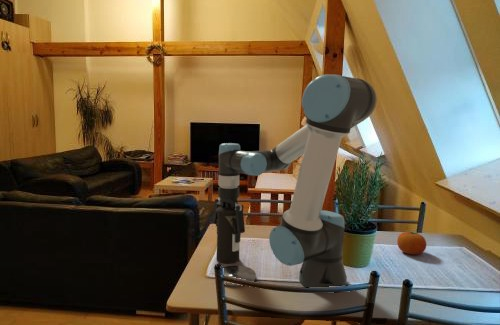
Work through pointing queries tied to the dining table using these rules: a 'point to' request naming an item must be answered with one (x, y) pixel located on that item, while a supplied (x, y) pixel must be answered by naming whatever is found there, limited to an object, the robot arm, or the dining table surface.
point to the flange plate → (239, 273)
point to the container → (225, 236)
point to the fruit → (411, 243)
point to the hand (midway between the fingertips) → (228, 246)
